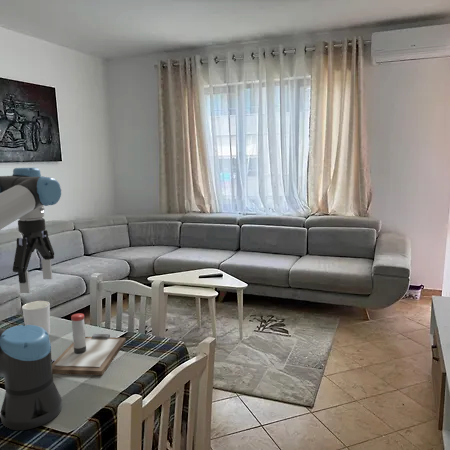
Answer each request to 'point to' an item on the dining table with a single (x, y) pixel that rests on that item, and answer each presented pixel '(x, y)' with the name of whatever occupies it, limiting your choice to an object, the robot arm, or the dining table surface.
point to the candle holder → (37, 314)
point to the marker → (78, 333)
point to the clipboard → (89, 356)
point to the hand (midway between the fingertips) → (37, 285)
